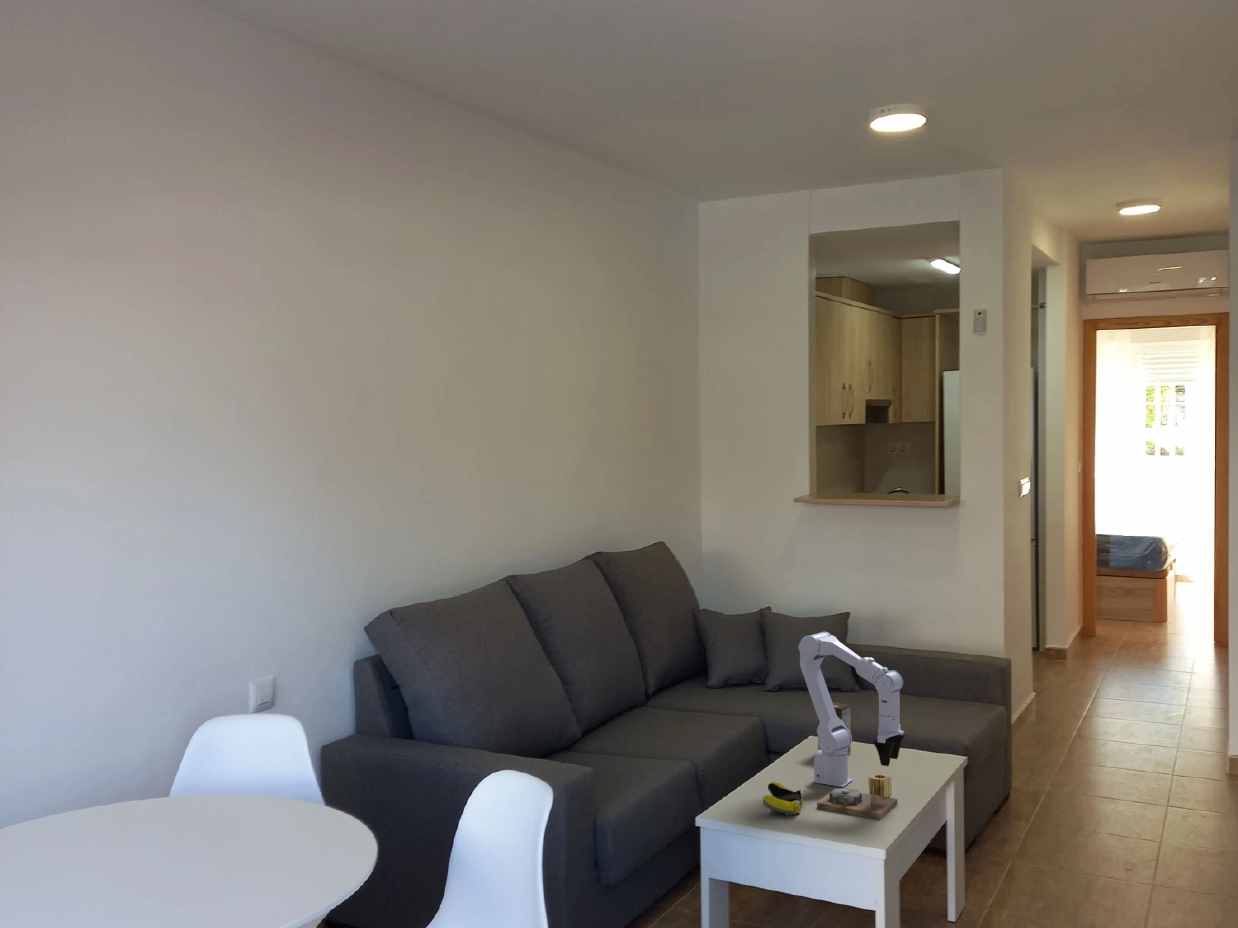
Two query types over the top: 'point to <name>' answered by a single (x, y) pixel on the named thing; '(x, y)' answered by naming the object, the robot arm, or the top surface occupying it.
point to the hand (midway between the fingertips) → (889, 761)
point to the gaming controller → (783, 799)
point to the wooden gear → (880, 785)
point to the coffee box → (843, 717)
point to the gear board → (857, 803)
